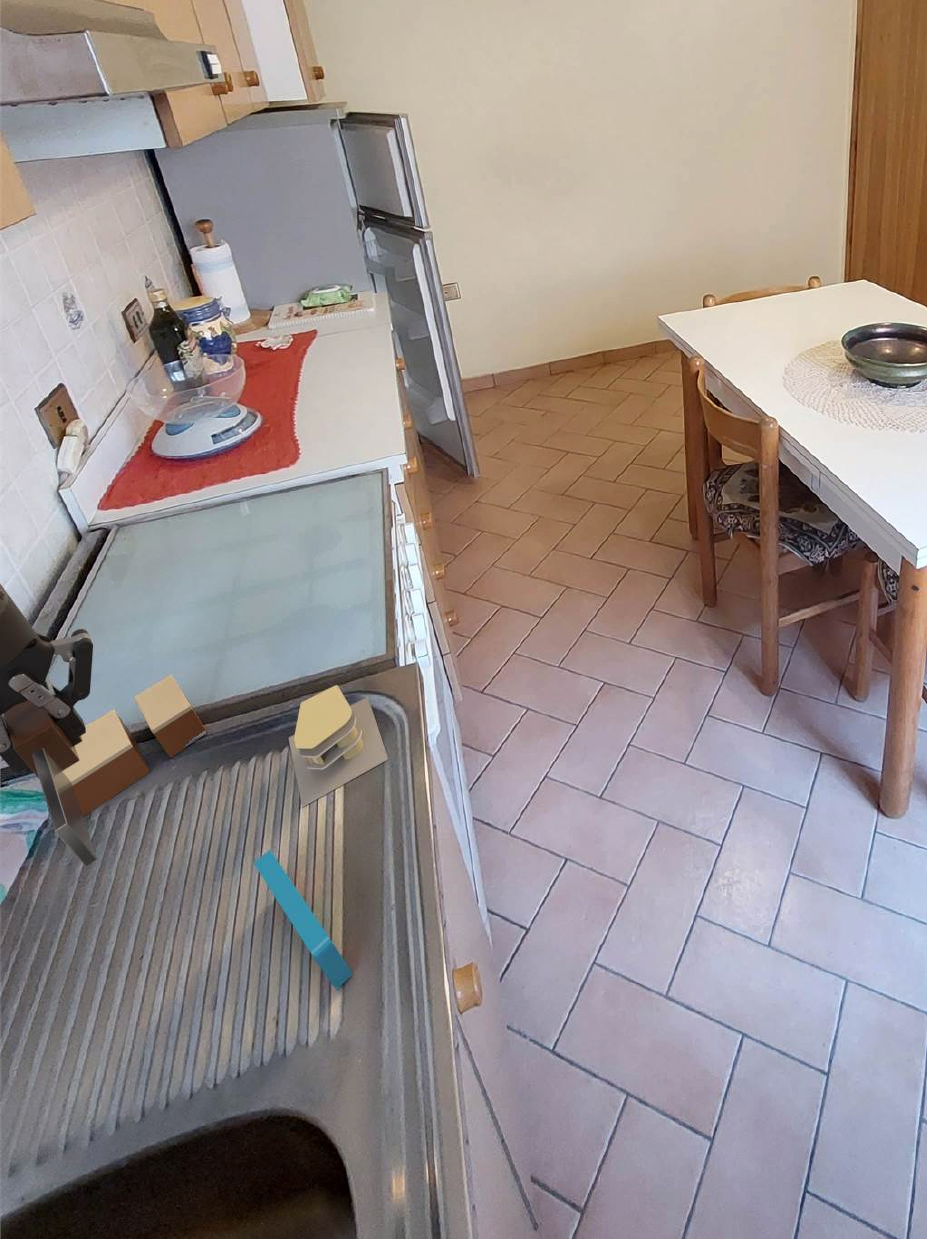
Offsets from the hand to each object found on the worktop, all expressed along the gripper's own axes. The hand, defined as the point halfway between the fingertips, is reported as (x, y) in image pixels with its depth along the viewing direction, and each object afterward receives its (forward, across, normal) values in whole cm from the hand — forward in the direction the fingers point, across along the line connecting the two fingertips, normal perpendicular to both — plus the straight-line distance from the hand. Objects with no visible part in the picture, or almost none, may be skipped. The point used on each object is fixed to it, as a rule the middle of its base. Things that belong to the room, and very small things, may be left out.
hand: (54, 751), depth 67 cm
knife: (0, 0, +5) cm, 5 cm away
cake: (+15, 0, -11) cm, 18 cm away
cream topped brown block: (+15, -8, -11) cm, 20 cm away
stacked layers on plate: (+15, -19, +7) cm, 25 cm away
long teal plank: (+15, -10, +24) cm, 30 cm away
